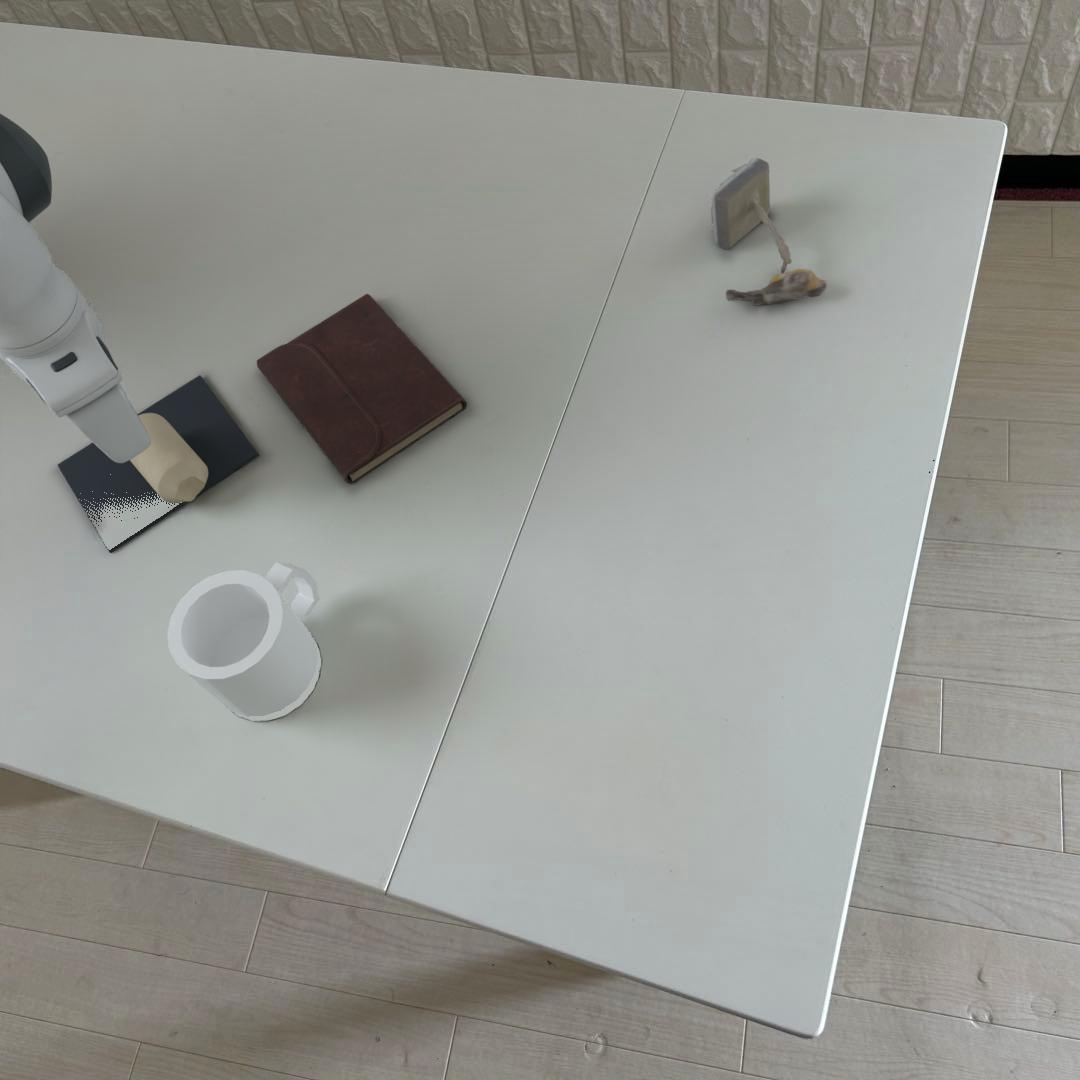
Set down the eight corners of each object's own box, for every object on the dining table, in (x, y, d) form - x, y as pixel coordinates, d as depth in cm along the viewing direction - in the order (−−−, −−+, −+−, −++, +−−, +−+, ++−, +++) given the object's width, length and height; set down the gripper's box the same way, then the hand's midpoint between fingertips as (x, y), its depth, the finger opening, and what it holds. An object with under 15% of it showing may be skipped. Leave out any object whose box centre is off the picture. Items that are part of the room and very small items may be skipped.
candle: (166, 406, 110) (215, 461, 106) (168, 446, 114) (215, 501, 109) (116, 420, 107) (164, 478, 102) (119, 461, 110) (166, 518, 106)
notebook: (373, 301, 119) (368, 289, 118) (468, 407, 110) (464, 395, 108) (260, 372, 116) (254, 360, 115) (349, 486, 107) (343, 476, 106)
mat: (110, 553, 107) (108, 551, 107) (59, 467, 114) (56, 464, 113) (259, 455, 111) (257, 453, 110) (201, 377, 117) (199, 374, 117)
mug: (277, 577, 103) (235, 523, 94) (361, 616, 100) (327, 565, 91) (195, 694, 98) (143, 650, 89) (281, 740, 95) (236, 699, 86)
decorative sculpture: (828, 300, 111) (836, 250, 104) (744, 332, 110) (747, 284, 104) (760, 203, 119) (764, 151, 112) (681, 232, 118) (680, 182, 112)
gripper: (-27, 283, 96) (52, 375, 108) (56, 420, 87) (133, 505, 99) (34, 248, 98) (106, 343, 110) (123, 380, 88) (191, 468, 100)
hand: (119, 421), depth 104 cm, fingers closed
